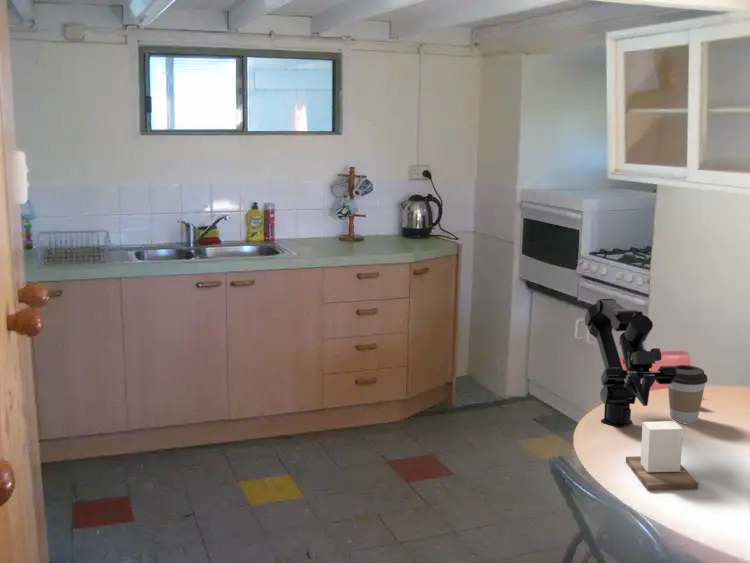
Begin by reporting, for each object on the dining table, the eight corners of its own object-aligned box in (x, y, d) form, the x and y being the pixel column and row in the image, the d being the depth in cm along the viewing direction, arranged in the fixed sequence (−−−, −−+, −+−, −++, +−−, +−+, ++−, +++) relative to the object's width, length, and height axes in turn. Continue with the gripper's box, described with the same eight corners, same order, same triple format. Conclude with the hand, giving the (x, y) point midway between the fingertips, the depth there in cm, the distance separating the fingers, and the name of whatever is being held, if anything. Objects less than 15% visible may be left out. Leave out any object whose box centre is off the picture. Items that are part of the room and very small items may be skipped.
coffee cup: (701, 413, 239) (704, 364, 236) (708, 427, 228) (711, 376, 225) (660, 411, 242) (663, 362, 238) (665, 425, 231) (668, 375, 228)
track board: (625, 462, 207) (626, 456, 207) (672, 460, 207) (672, 455, 207) (647, 490, 191) (647, 484, 191) (697, 489, 192) (698, 483, 191)
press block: (639, 462, 202) (641, 421, 200) (671, 461, 202) (673, 420, 200) (647, 472, 197) (649, 429, 195) (680, 471, 197) (682, 428, 195)
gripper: (606, 337, 210) (617, 392, 202) (677, 336, 211) (691, 390, 202) (596, 358, 220) (606, 411, 211) (664, 356, 220) (677, 409, 211)
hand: (645, 405), depth 209 cm, fingers closed
